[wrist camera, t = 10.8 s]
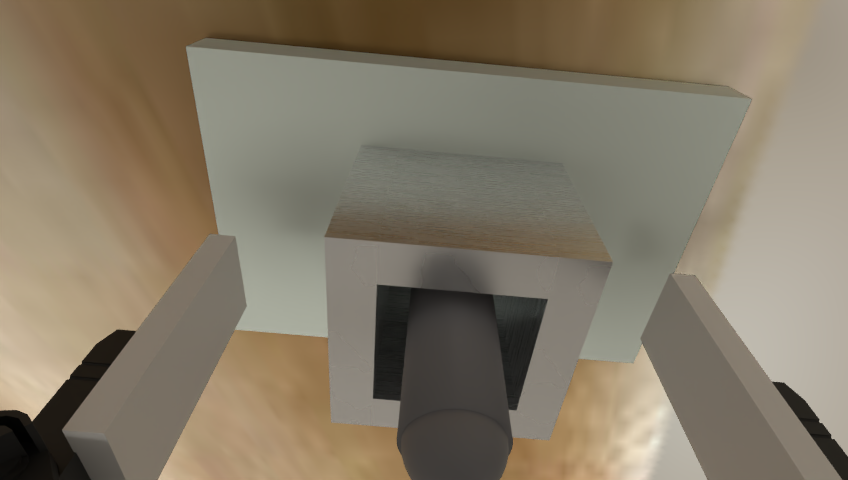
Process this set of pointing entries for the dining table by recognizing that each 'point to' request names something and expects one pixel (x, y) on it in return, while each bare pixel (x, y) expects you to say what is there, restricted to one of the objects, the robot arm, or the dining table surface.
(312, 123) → the post block
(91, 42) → the dining table surface
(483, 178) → the collar
